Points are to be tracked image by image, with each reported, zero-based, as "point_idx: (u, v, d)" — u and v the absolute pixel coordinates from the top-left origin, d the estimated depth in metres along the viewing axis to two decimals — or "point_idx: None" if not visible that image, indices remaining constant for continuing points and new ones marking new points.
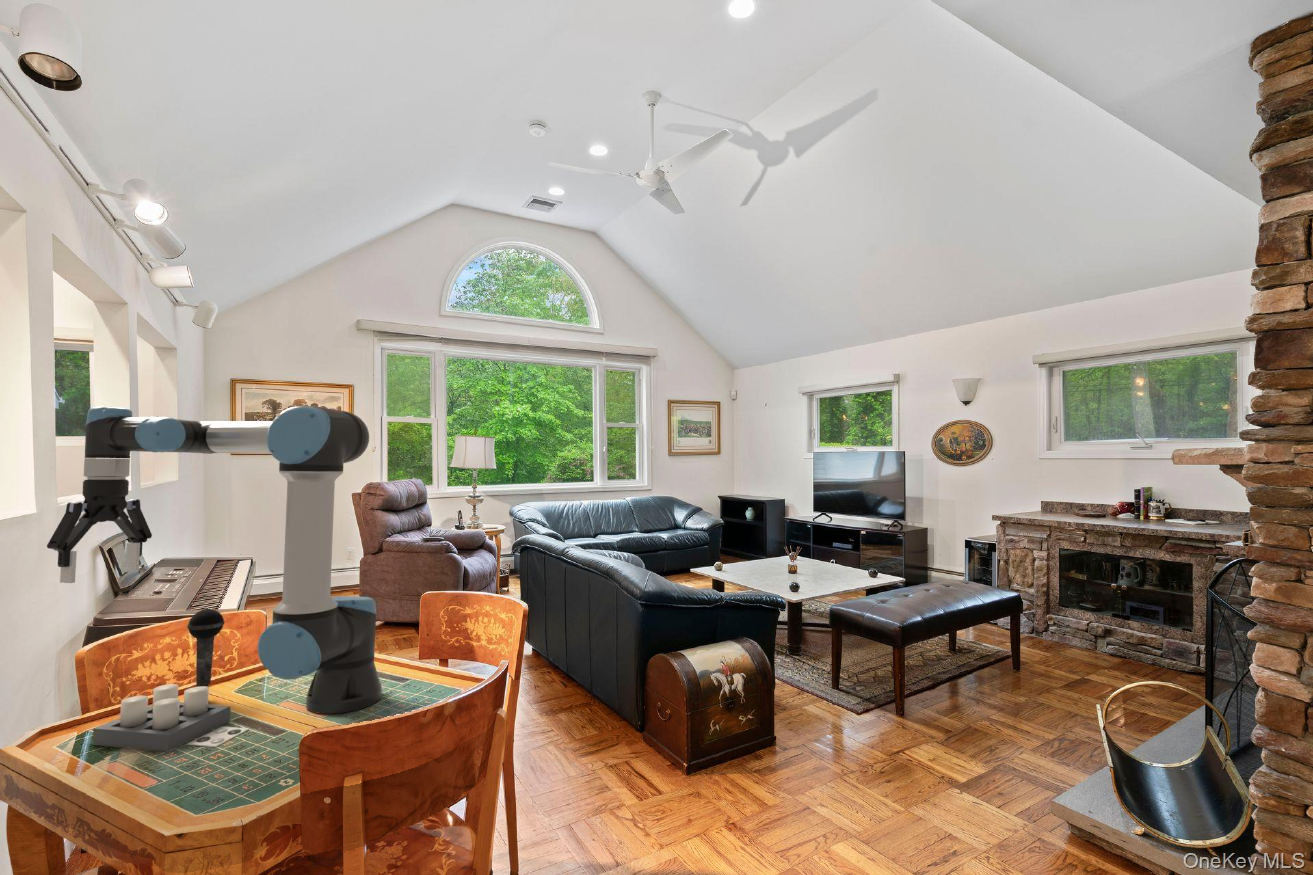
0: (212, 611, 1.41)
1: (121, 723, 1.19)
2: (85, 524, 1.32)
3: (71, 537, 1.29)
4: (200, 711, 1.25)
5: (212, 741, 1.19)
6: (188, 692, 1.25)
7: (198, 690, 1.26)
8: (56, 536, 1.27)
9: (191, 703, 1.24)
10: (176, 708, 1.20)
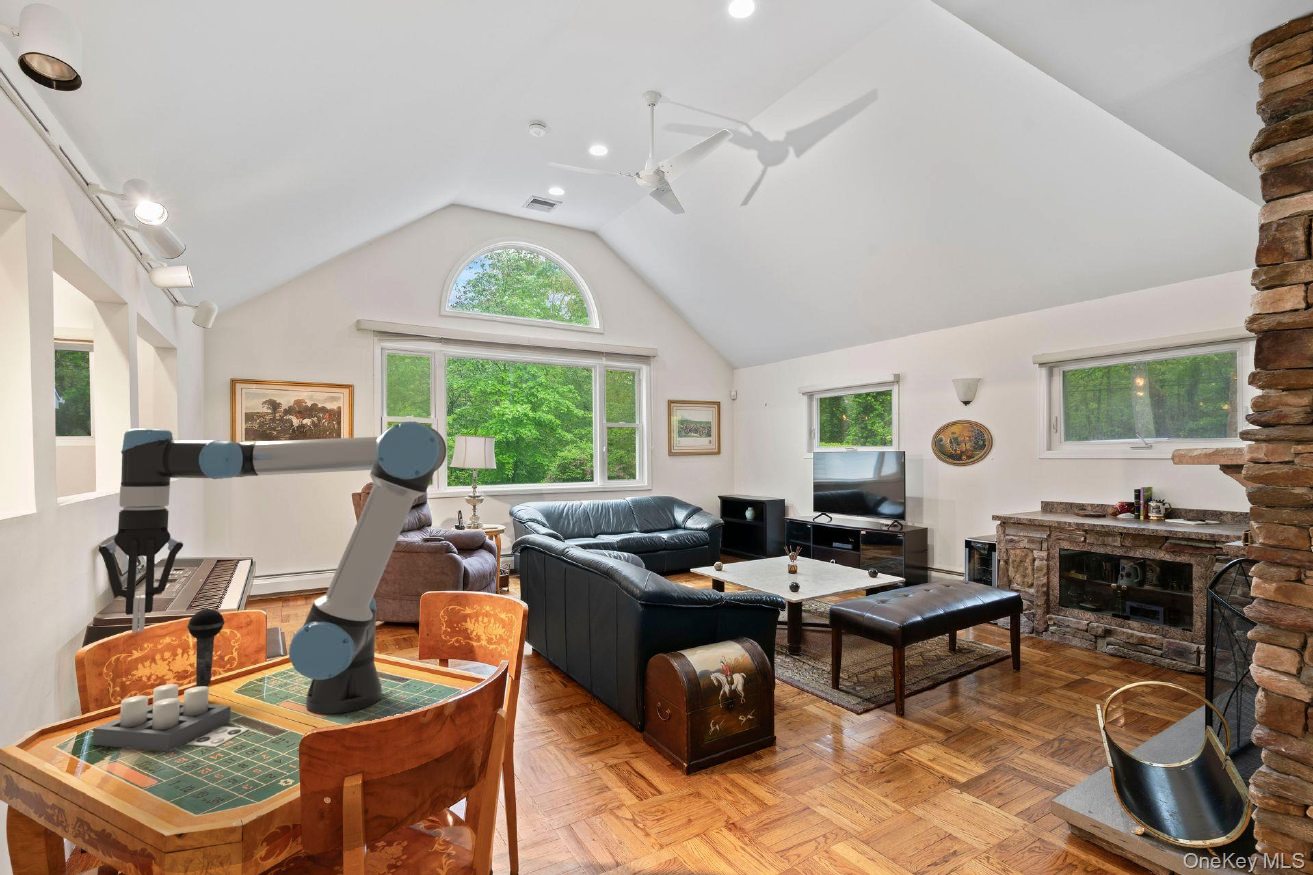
0: (212, 611, 1.41)
1: (121, 723, 1.19)
2: (128, 566, 1.20)
3: (127, 582, 1.21)
4: (200, 711, 1.25)
5: (212, 741, 1.19)
6: (188, 692, 1.25)
7: (198, 690, 1.26)
8: None
9: (191, 703, 1.24)
10: (176, 708, 1.20)
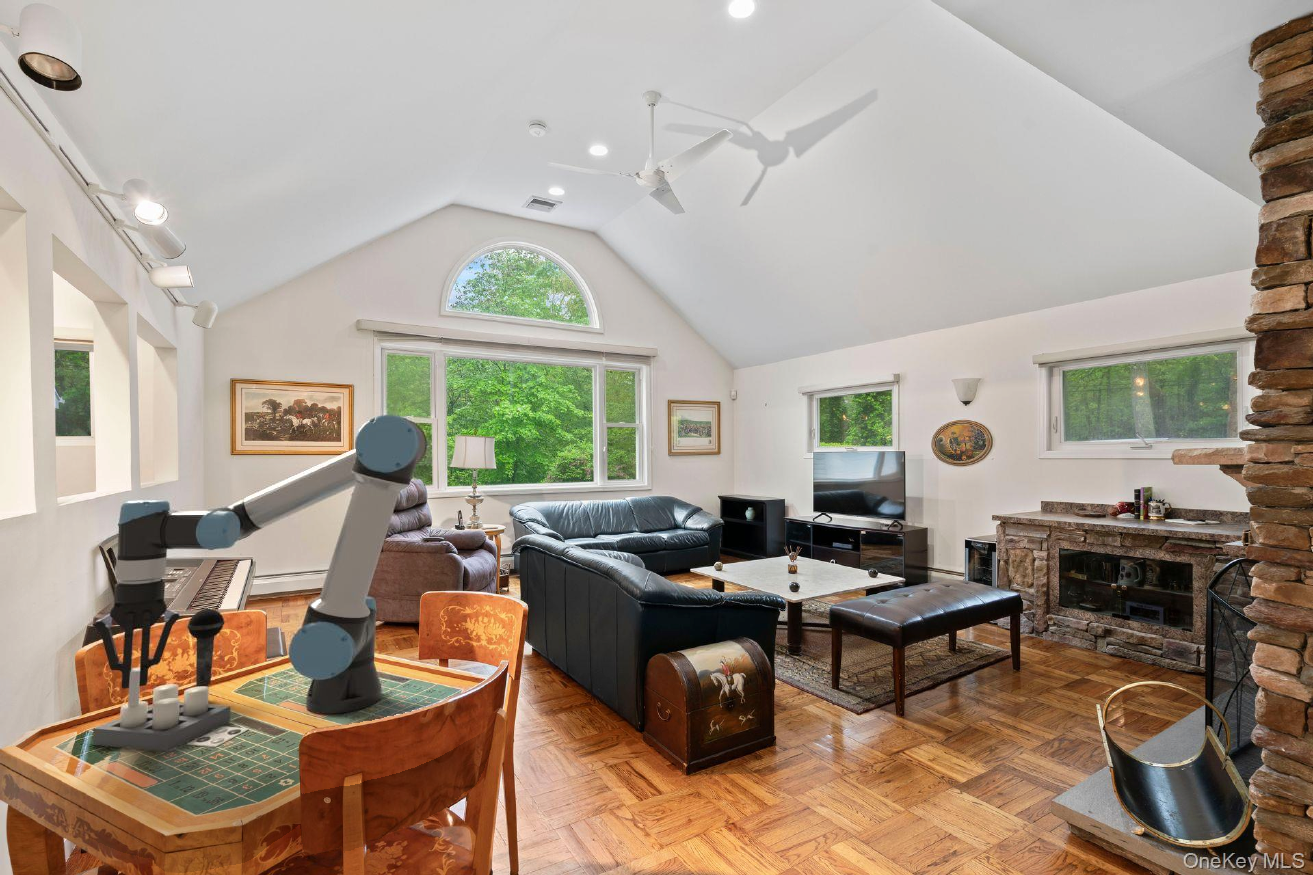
0: (212, 611, 1.41)
1: None
2: None
3: None
4: (200, 711, 1.25)
5: (212, 741, 1.19)
6: (188, 692, 1.25)
7: (198, 690, 1.26)
8: None
9: (191, 703, 1.24)
10: (176, 708, 1.20)
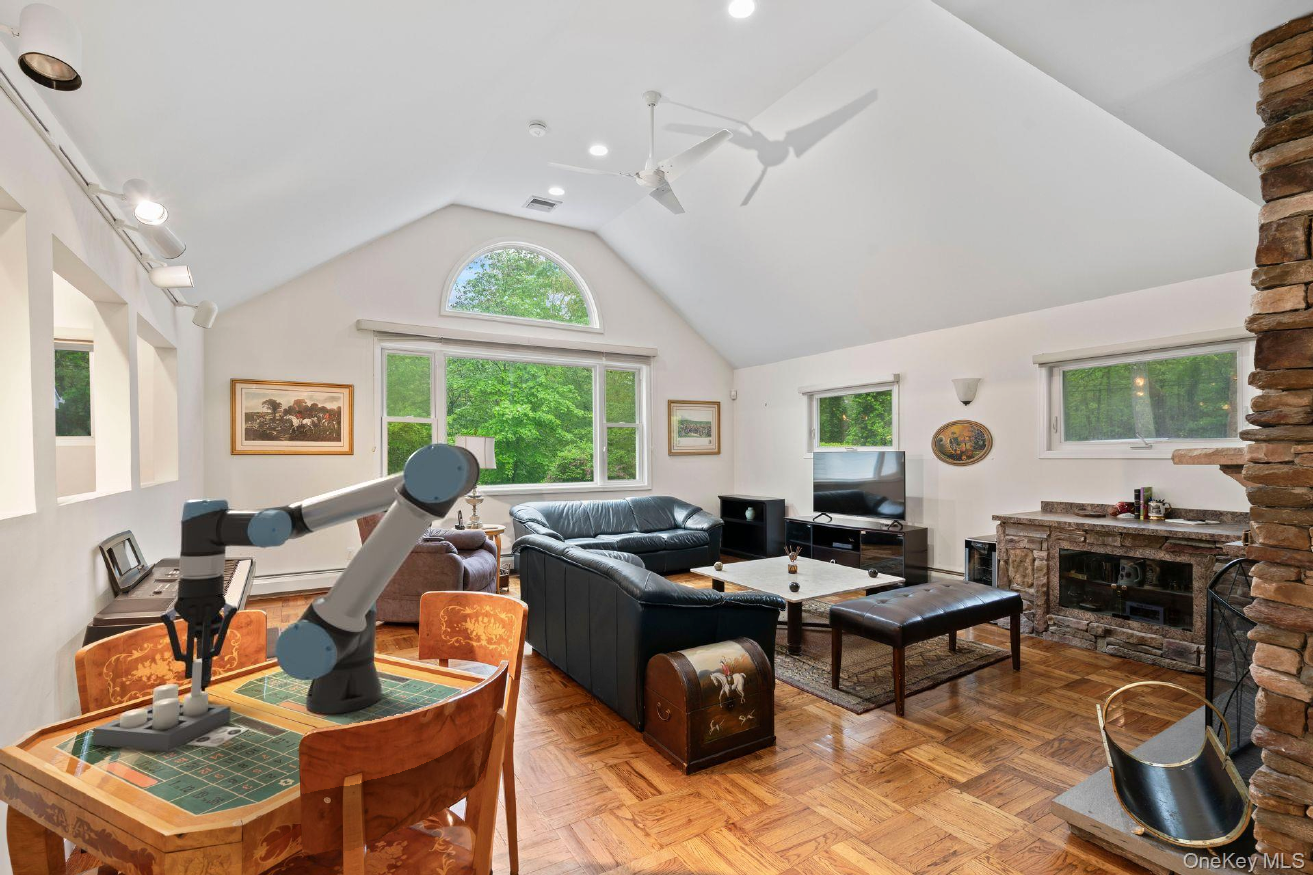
0: None
1: None
2: None
3: (186, 647, 1.26)
4: None
5: (212, 741, 1.19)
6: (188, 697, 1.25)
7: (198, 695, 1.26)
8: None
9: (191, 709, 1.24)
10: (176, 708, 1.20)
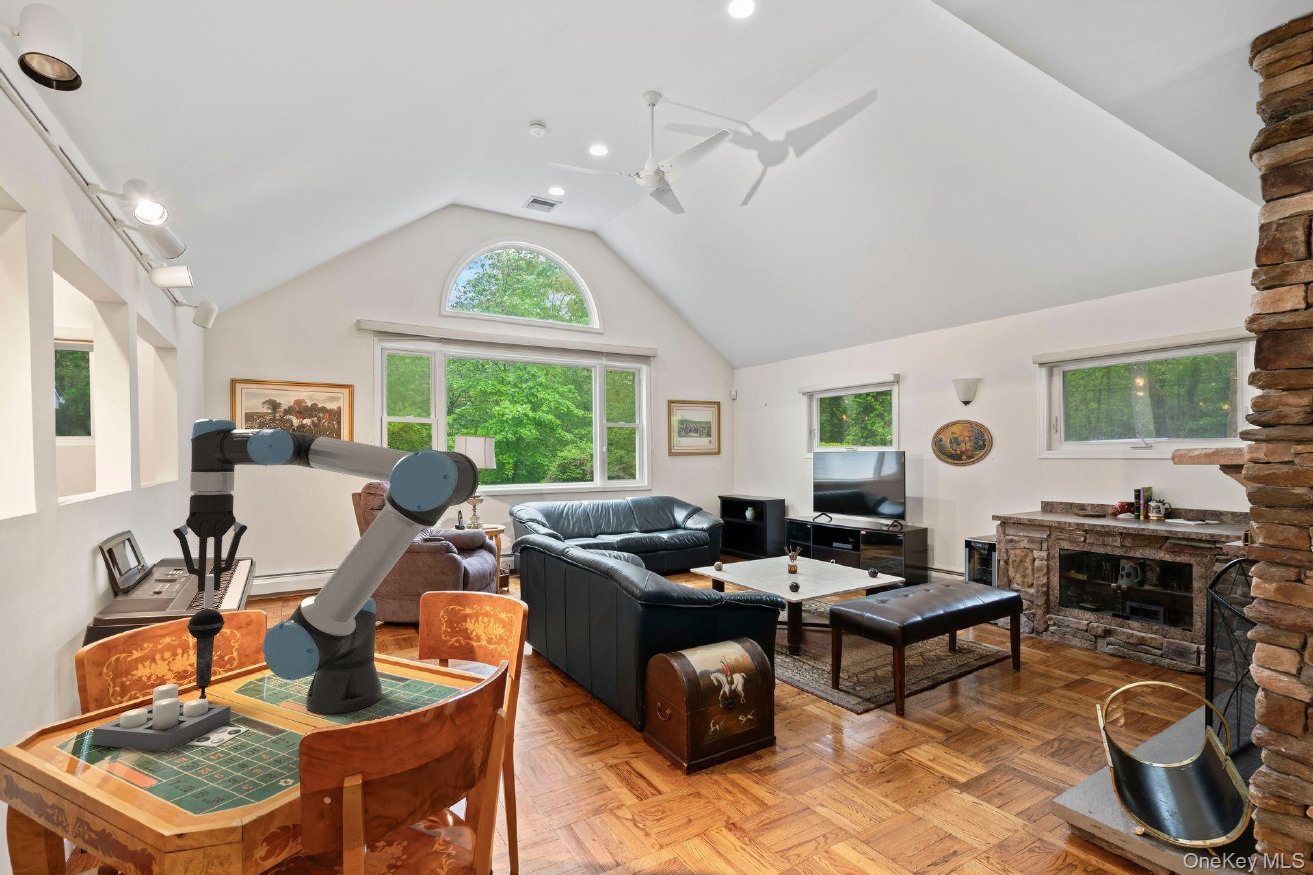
0: (212, 611, 1.41)
1: None
2: (199, 547, 1.30)
3: (198, 562, 1.30)
4: None
5: (212, 741, 1.19)
6: (187, 705, 1.25)
7: (198, 703, 1.26)
8: (185, 563, 1.29)
9: (191, 716, 1.24)
10: (176, 708, 1.20)
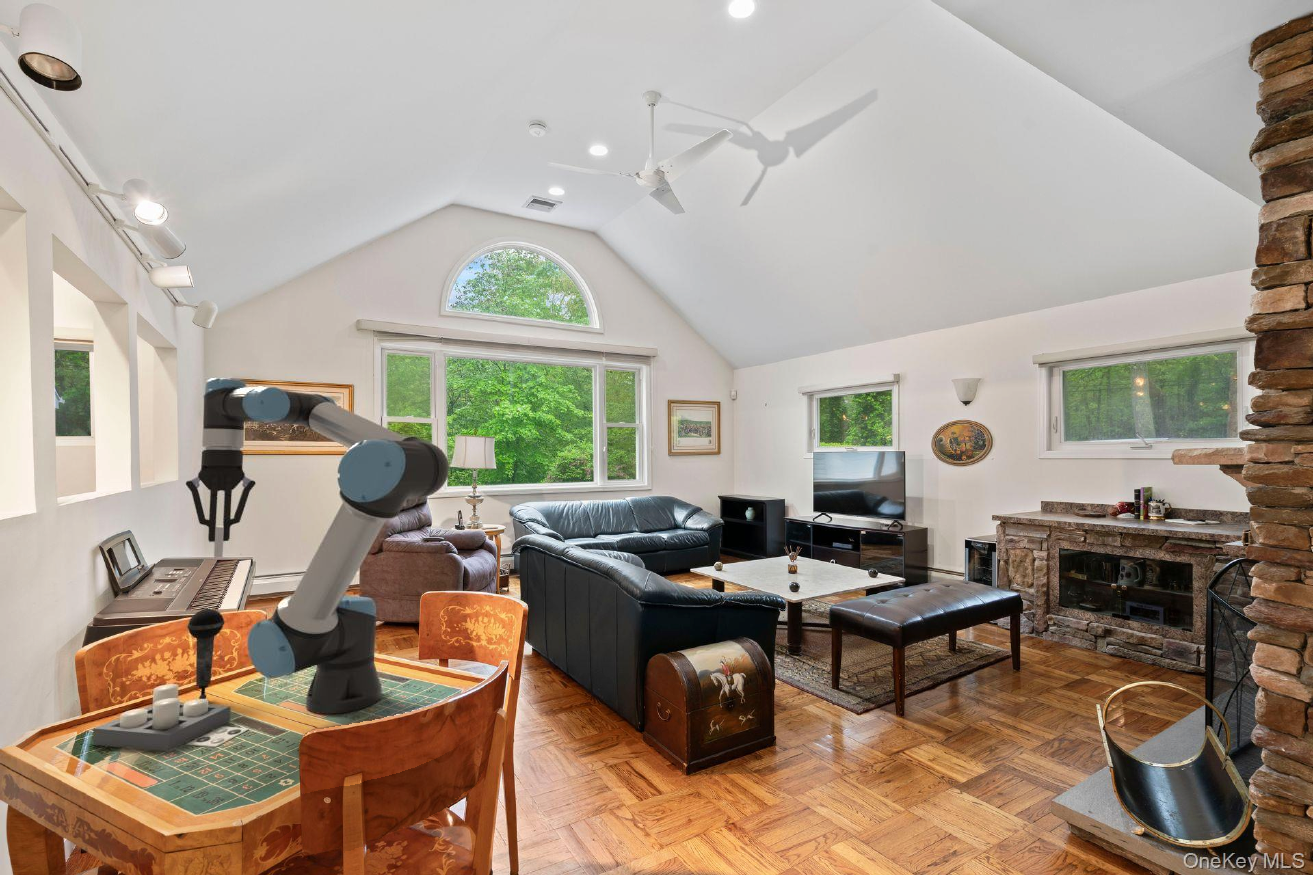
0: (212, 611, 1.41)
1: None
2: (210, 499, 1.37)
3: (209, 513, 1.37)
4: None
5: (212, 741, 1.19)
6: (187, 705, 1.25)
7: (198, 703, 1.26)
8: None
9: (191, 716, 1.24)
10: (176, 708, 1.20)
